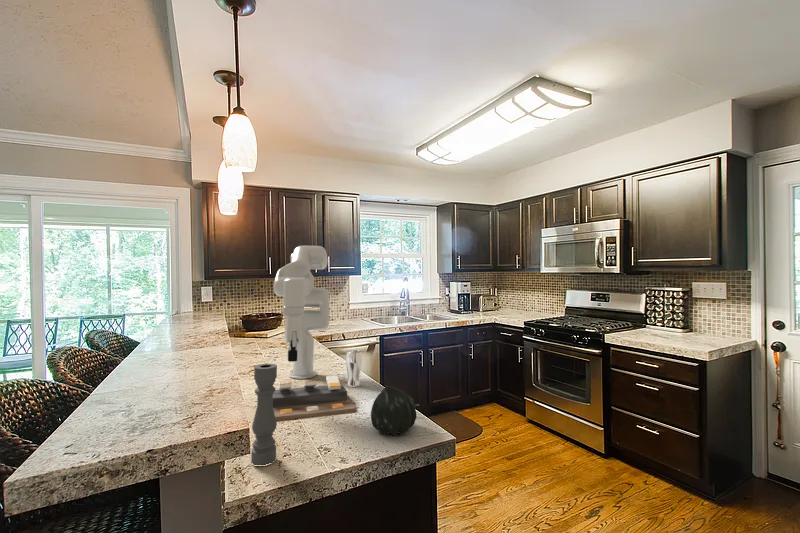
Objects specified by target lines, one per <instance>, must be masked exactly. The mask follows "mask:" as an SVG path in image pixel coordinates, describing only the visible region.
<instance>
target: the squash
mask: <svg viewBox="0 0 800 533" xmlns="http://www.w3.org/2000/svg"><path fill="white" fill-rule="evenodd" d="M417 418H418V417H417V408H416V403H415V401H414V399H413V397H412V396H411V395H410V394H408V393H407V392H405V391H403V390H402V389H400V388H397V387H394V386H391V385H388V386H387V385H385V386H384V387H383V389H382V390H381V392H379V394H377V396H376V398H375V399H374V401H373V404H372V406H371V410H370V421H371V425H372V426H373V428H374V429H376V430H377V431H379V433H381V434H384V433H387V434H390V435H391V434H392V436H397V435H398V433H399V432H400V433H405V434H407V433H408V432H409V430H410V428H412V427H413V426H414V425H415V424H416V419H417ZM388 432H389V433H388ZM400 433H399V434H400ZM396 434H397V435H396Z"/></svg>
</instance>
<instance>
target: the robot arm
mask: <svg viewBox="0 0 800 533" xmlns="http://www.w3.org/2000/svg"><path fill="white" fill-rule="evenodd" d="M328 261H329V260H328V254H327V250H326V249H325V247H323V246H320V245H298V246H297V247H295V248H294V249H293V253H291V254H290V262H289V263H287V264H286V265H284V266H283V267H281V268H279V269H278V270H277V272H276V275H275V278H274V281H273V292H274V294H275V295H276V296H277V297H283V300H282V301H283V302H282V303H283V304H282V316H284V317H285V320H284V321H285V322H284V324H285V325H284V342H285V344H288V350H287V361H288V362H289V363H291V362H293V363H292V371H291V372H290V373H289V377H290V378H292V379H296V380H303V379H304V380H306V379H312V378H314V377H315V376H317V371H315V370H314V355H315V354H314V351H315V349H314V348H315V347H314V346H315V339H314V336H313V335H312V334H311V332H310V331H319V330H320V331H322V330H327V329H329V328H328V327H329V325H330V293H329V290H328V289H327V288H323V287H315V277H314V275H313V274H312V272H311V270H325V269H326V268H327V267H328ZM305 308H318V309H319V310H318V309H316V310H315V309H305Z"/></svg>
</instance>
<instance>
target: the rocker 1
mask: <svg viewBox="0 0 800 533" xmlns="http://www.w3.org/2000/svg"><path fill="white" fill-rule="evenodd" d="M291 388H293V383H292V382H289V383H287V382H286V383H280V384H279V385H278V390H279V389H291Z"/></svg>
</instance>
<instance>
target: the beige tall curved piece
mask: <svg viewBox="0 0 800 533" xmlns="http://www.w3.org/2000/svg"><path fill="white" fill-rule="evenodd" d="M362 354H363V353H362V350H357V349H350V350H347V351H346V357H345V358H346V359H345V362H346V363H345V364H346V365H345V366H346V373H347V382H346V386H347V387H348V386H349V388H358V387H360V386H361V379H360V377H361V376H360V375H361V372H362V363H363V361H362V360H363V358H362V357H363V356H362ZM357 386H358V387H357Z"/></svg>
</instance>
